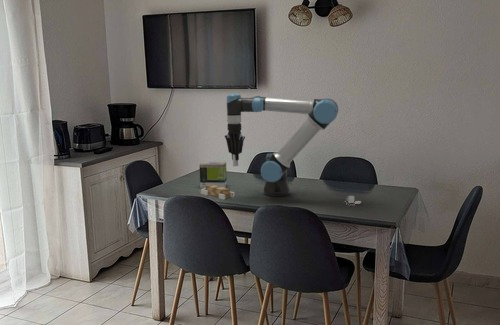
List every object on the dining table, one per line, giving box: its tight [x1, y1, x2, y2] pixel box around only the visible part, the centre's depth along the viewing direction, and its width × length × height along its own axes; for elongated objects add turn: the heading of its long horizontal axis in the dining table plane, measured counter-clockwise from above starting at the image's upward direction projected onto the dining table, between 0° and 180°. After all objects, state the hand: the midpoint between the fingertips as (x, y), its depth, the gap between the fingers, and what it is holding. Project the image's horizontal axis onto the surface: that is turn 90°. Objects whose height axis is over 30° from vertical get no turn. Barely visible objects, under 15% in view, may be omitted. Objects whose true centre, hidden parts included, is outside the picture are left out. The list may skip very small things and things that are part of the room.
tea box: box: [199, 161, 228, 189], centre depth 298 cm, size 15×10×15 cm, turn 84°
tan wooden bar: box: [206, 185, 231, 200], centre depth 278 cm, size 16×4×5 cm, turn 45°
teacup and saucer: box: [344, 195, 362, 206], centre depth 261 cm, size 9×8×4 cm
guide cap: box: [218, 191, 236, 201], centre depth 273 cm, size 4×8×2 cm, turn 137°
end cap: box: [199, 188, 209, 196], centre depth 283 cm, size 6×8×2 cm
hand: (235, 165), depth 271 cm, fingers closed
